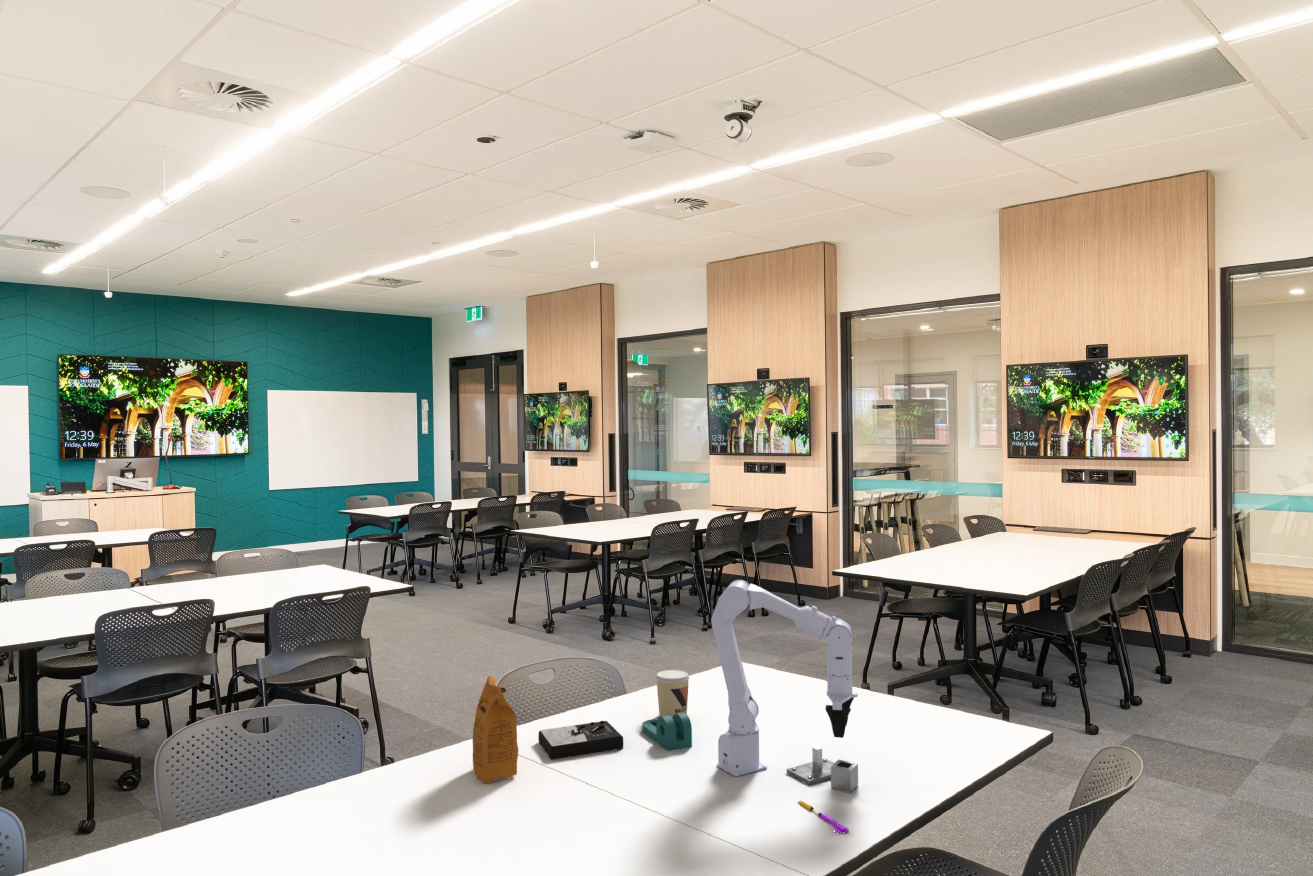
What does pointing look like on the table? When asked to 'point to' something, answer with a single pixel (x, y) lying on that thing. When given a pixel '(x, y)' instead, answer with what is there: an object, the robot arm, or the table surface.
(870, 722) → the table surface
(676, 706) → the coffee cup
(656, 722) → the bracket
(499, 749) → the coffee package
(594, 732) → the black printed box
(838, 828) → the purple and orange rod
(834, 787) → the tube
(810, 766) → the plate
